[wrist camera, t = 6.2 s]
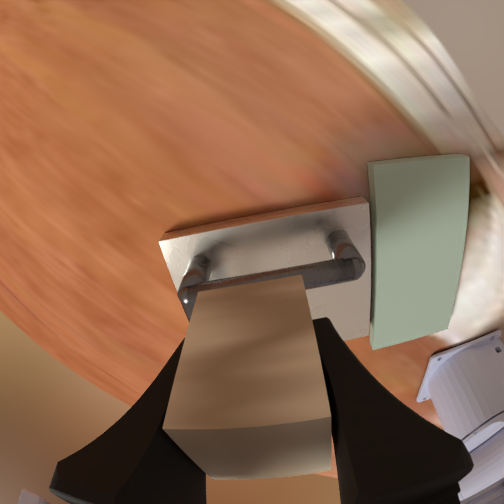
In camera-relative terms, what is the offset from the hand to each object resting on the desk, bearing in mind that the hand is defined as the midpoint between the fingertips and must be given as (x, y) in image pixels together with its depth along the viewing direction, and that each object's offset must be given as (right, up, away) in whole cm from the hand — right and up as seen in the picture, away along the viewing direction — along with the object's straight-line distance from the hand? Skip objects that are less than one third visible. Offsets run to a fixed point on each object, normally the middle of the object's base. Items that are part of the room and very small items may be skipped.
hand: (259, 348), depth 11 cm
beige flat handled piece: (+1, 0, +9) cm, 9 cm away
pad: (+11, +3, +8) cm, 14 cm away
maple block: (0, +1, +1) cm, 2 cm away
